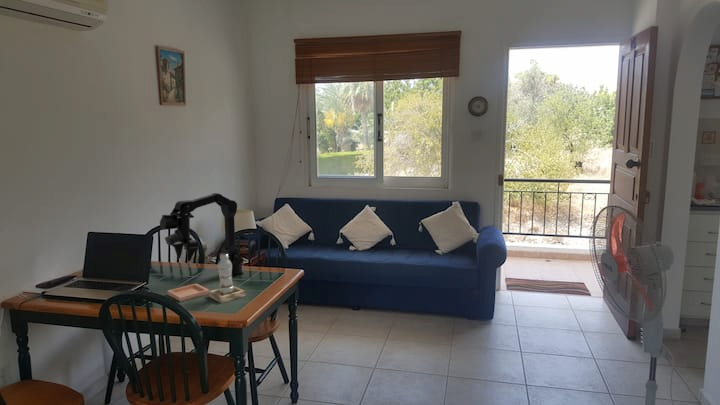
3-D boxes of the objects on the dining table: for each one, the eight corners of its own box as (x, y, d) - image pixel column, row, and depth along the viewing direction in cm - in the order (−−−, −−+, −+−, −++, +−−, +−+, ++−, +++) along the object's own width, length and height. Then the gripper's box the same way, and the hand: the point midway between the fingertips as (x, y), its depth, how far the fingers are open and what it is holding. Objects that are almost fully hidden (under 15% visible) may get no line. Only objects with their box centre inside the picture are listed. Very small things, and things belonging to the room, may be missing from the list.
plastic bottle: (237, 296, 223) (234, 253, 220) (223, 300, 218) (220, 256, 215) (230, 292, 228) (227, 251, 224) (216, 296, 223) (213, 254, 220)
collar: (232, 290, 231) (232, 285, 231) (245, 296, 223) (245, 290, 222) (208, 296, 223) (208, 291, 223) (221, 303, 215) (221, 297, 214)
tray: (196, 287, 237) (196, 283, 236) (209, 294, 227) (209, 289, 226) (167, 294, 227) (167, 290, 227) (180, 301, 217) (180, 297, 217)
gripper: (157, 226, 232) (158, 259, 234) (177, 231, 220) (178, 265, 221) (179, 224, 240) (179, 255, 242) (199, 229, 228) (200, 261, 230)
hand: (183, 259), depth 234 cm, fingers open, 9 cm apart
